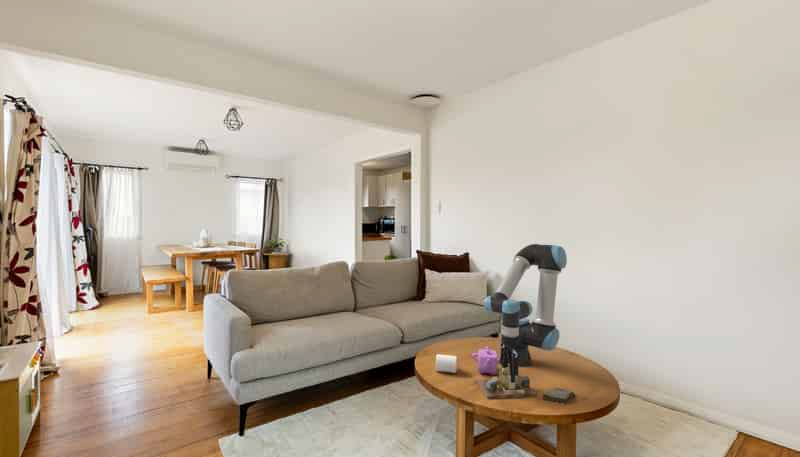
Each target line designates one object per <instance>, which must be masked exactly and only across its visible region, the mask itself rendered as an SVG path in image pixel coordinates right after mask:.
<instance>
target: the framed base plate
mask: <svg viewBox="0 0 800 457" xmlns="http://www.w3.org/2000/svg"><path fill="white" fill-rule="evenodd" d="M494 378H498V379H499V376H491V379H494ZM488 380H489V379H482V380H480V379H479V380H478V379H476V380H475V379H474V384H475V386H476V387H477V388H478V389H479V390H480V392H481V393H482V394H483V396H484V397H485V399H488V400H491V399H493V400H495V399H510V398H511V399H513V398H528V397H530V398H532V397H538V393H537V392H536V391H535V390H534V389H533V388H532V387H531V386H530V387H529V388H523V387H522V386H521V385H520V384H519V383H518V384H517V389H504V388H503V387H502V386H501V385H500V384H499V385H497V391H494V392H491V391H489V390H487V389H486V381H488Z"/></svg>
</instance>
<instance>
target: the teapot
mask: <svg viewBox="0 0 800 457" xmlns="http://www.w3.org/2000/svg"><path fill="white" fill-rule="evenodd" d="M476 356H477V357H476ZM471 358H472V359H473V360H474V361H475V362H476V363H477V367H478V368H477V370H478V373H479V374H480V375H484V374H490V375H491V376H495V375H497V373H498V371H497V369H498V364H499V365H500V354H499V355H498V354H497V351H496V350H492V349H489V346H487V345H486V346H485V349H483V348H482V349H481V348H478V352H477V353H476V352H475V353H472V354H471ZM477 358H478V359H477ZM498 358H499V359H498Z"/></svg>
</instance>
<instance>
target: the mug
mask: <svg viewBox="0 0 800 457" xmlns="http://www.w3.org/2000/svg"><path fill="white" fill-rule="evenodd" d="M457 364H458V356H456V355H449V354H448V355H447V354H439V353H437V354H436V359H435V371H436V372H441V373H442V372H443V373H450V374H451V373H452V374H456V373H457V368H458V366H457Z"/></svg>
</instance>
